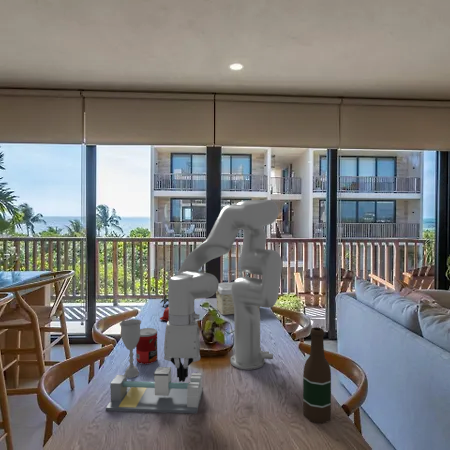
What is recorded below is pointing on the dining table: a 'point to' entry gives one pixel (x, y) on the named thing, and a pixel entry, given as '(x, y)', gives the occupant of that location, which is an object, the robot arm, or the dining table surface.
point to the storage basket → (225, 299)
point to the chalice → (130, 342)
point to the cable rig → (155, 396)
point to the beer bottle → (317, 381)
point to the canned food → (147, 346)
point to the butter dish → (165, 315)
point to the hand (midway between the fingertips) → (182, 379)
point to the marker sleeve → (162, 381)
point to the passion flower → (165, 298)
